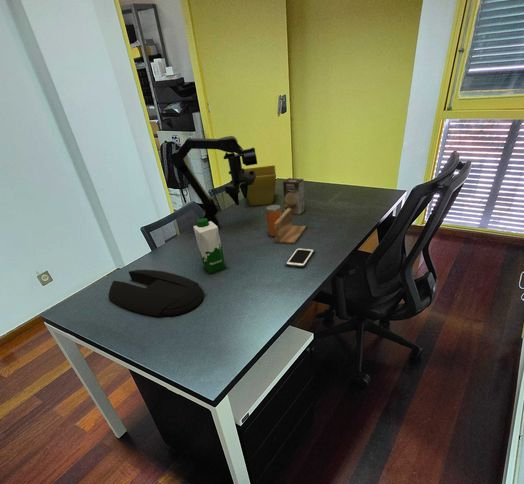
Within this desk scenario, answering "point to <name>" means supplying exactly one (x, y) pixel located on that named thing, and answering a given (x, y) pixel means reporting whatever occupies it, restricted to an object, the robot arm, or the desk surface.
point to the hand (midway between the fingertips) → (241, 201)
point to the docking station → (157, 293)
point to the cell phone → (300, 257)
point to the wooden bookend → (287, 229)
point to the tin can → (272, 217)
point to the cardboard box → (262, 185)
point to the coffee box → (294, 195)
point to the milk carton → (209, 245)
